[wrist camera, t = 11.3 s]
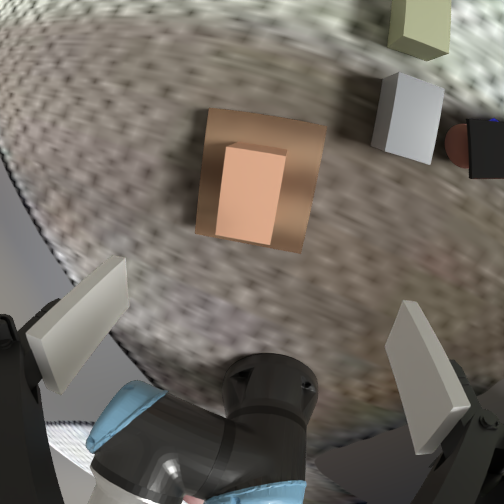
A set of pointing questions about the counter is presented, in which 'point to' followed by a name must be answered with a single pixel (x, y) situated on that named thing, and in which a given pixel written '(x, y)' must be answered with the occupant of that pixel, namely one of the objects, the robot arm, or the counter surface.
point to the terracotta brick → (250, 191)
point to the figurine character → (477, 148)
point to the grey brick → (408, 117)
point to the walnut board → (294, 176)
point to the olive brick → (420, 28)
